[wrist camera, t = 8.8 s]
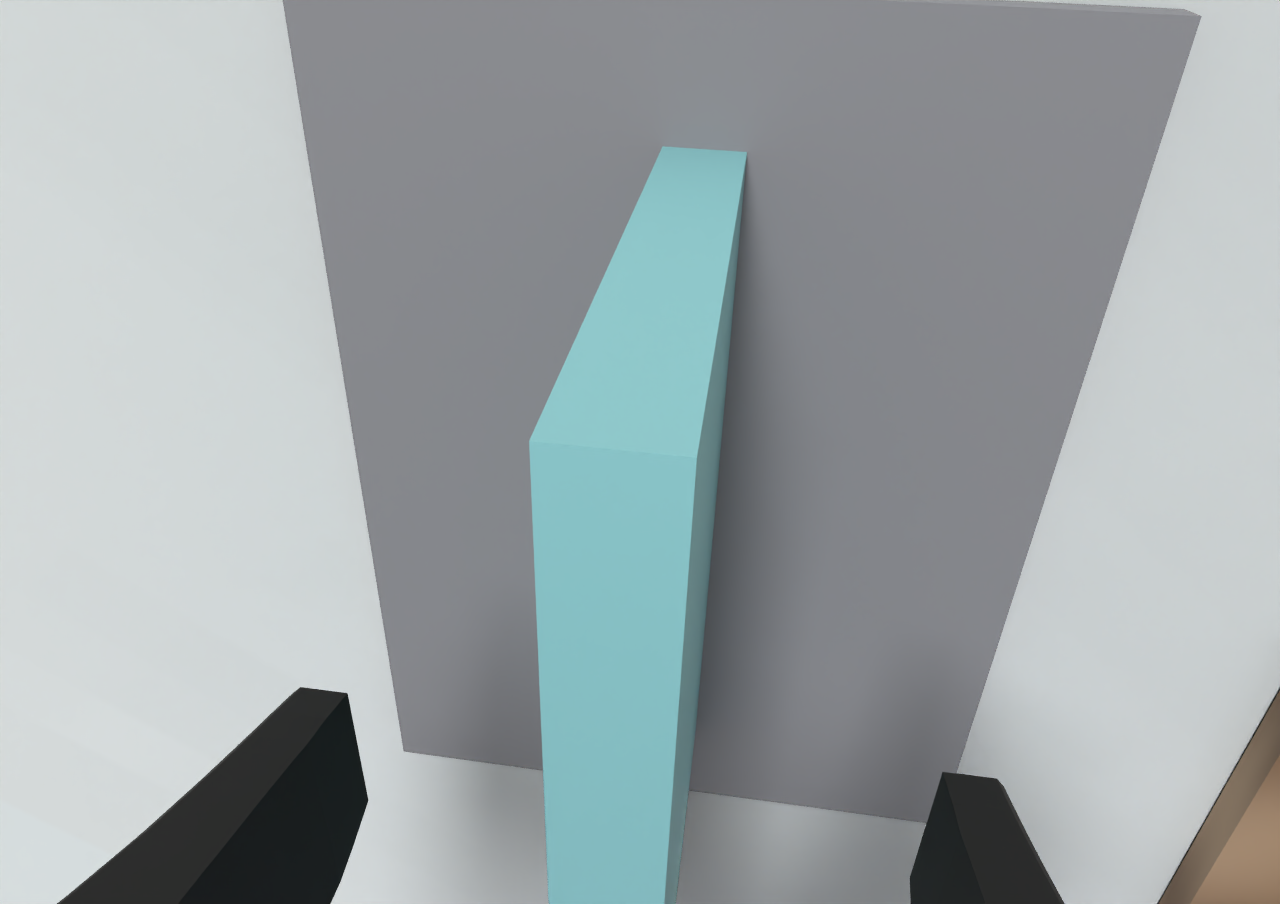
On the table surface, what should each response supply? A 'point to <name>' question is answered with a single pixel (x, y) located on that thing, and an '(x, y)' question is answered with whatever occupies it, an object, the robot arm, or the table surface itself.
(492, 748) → the mat
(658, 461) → the sheet
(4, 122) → the table surface
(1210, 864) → the rack
